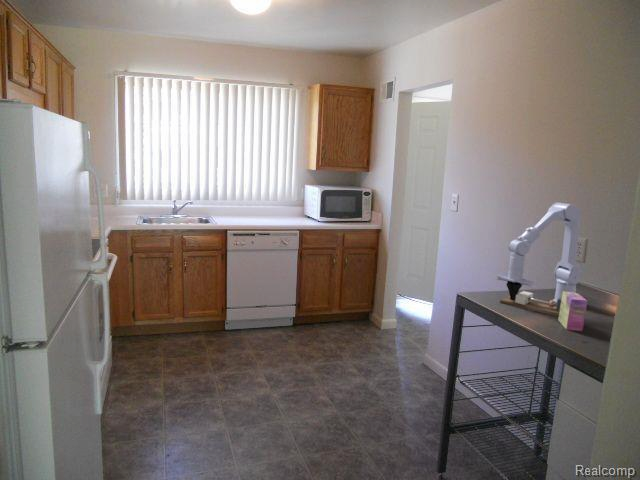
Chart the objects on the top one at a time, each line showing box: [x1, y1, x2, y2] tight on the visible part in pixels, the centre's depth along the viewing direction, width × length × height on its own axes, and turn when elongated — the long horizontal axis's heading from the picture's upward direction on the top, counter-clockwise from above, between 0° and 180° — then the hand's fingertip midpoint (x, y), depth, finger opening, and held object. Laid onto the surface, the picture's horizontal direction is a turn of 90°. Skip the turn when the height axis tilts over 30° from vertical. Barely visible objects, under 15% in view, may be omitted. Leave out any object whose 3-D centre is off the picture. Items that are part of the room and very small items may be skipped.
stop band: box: [548, 299, 555, 308], centre depth 195 cm, size 3×1×3 cm, turn 138°
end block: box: [556, 297, 562, 312], centre depth 192 cm, size 4×3×5 cm
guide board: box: [499, 292, 559, 318], centre depth 199 cm, size 11×26×4 cm, turn 48°
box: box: [557, 291, 588, 332], centre depth 177 cm, size 10×6×12 cm, turn 168°
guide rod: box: [528, 297, 557, 307], centre depth 198 cm, size 1×19×1 cm, turn 48°
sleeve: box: [515, 290, 534, 305], centre depth 202 cm, size 9×4×3 cm, turn 138°
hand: (512, 299), depth 202 cm, fingers closed
